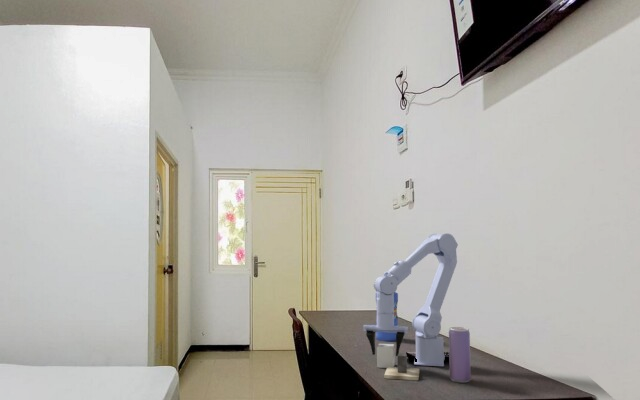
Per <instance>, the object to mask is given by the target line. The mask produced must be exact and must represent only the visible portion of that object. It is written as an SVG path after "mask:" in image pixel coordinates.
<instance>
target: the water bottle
mask: <svg viewBox="0 0 640 400" xmlns="http://www.w3.org/2000/svg"><path fill="white" fill-rule="evenodd" d="M398 302H399V293H398V292H396V291H395V292H394V326H399V317H398V311H397V310H398ZM375 303H376V305H377V292H376V293H375ZM375 320H376V323H375V325H377V316H376V318H375ZM385 331H391V330H385ZM396 334H397V333H389V332H375V340H378V341H379V342H380V341H381V342H396Z"/></svg>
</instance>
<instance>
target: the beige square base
mask: <svg viewBox="0 0 640 400" xmlns="http://www.w3.org/2000/svg"><path fill="white" fill-rule="evenodd" d="M407 356H408V355H407V354H406V353H399V354H398V356H397V366H394V367H387V368H385V372H384V375H383V376H384V377H383V378H384V379H389V380H390V379H392V380H405V381H407V380H408V381H419V380H420V368H416V367H415V368H414V367H413V368H412V367H408V365H407V363H408V362H407V361H408V360H407V359H408V357H407Z"/></svg>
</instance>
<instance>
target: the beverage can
mask: <svg viewBox="0 0 640 400" xmlns="http://www.w3.org/2000/svg"><path fill="white" fill-rule="evenodd" d="M470 335H471V333H470V329H469V328H468V327H464V326H463V327H462V326H453V327H449V331H448V353H449V355H448V356H449V358H448V359H449V360H448V361H449V365H448V366H449V380H451V382H455V383H457V384H458V383H459V384H464V383H465V384H466V383H469V382H470V381H471V377H472V373H471V370H472V369H471V368H472V366H471V336H470Z"/></svg>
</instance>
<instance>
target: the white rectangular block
mask: <svg viewBox="0 0 640 400" xmlns="http://www.w3.org/2000/svg"><path fill="white" fill-rule="evenodd" d="M387 367H395V343H394V344H393V343H378V344H377V346H376V368H379V369H387Z"/></svg>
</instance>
